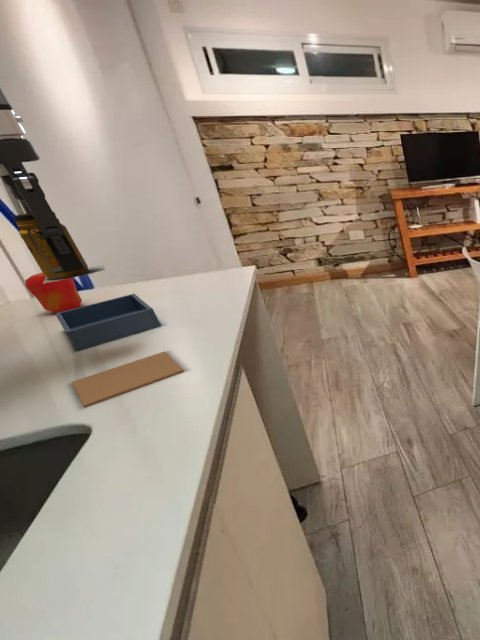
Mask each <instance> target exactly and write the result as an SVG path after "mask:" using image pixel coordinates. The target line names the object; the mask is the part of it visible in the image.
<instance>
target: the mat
mask: <svg viewBox="0 0 480 640" xmlns="http://www.w3.org/2000/svg"><path fill="white" fill-rule="evenodd" d="M184 372H185V370H184V369H183V367H181V365H180V364H178V363H177V361H176V360H175V359H174V358H173V357H171V356H170V355H169V354H168V352H166V351H165V350H164V351H162V352H158V353H156V354H152V355H149V356H146V357H144V358H141V359H137V360H134V361H131V362H128V363H125V364H122V365H119V366H115V367H113V368H110V369H107V370H103V371H101V372H98V373H95V374H92V375H89V376H86V377H83V378H79V379H75V380H73V381H72V382H71V383H72V385H73V387H74V390H75V391H76V394H77V395H78V398H79V399H80V402H81V404H82V405H83V407H84V408H86V407H89V406H92V405H94V404H97V403H100V402H104V401H106V400H108V399H112V398H115V397H117V396H120V395H123V394H126V393H128V392H131V391H133V390H137V389H140V388H142V387H146V386H148V385H150V384H153V383H156V382H159V381H162V380H164V379H167V378H170V377H173V376H176V375H178V374H182V373H184Z"/></svg>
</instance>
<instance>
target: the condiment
mask: <svg viewBox="0 0 480 640" xmlns="http://www.w3.org/2000/svg"><path fill="white" fill-rule="evenodd" d="M53 213H54V215H55V216H56V218H57V220H58V222H59V223H60V225H61V227H62V228H63V229H64V231H65V233H64V234H65V235H66V237H67V239H68V240H69V242H70V244H71V246H72V247H73V249H74V251H75V253H76V255H77V256H78V258H79V260H80V262H81V263H82V265H83V267H84V269H80V270H75V271H71V272H66V273H65V272H64V271H63V269H62V268H61V266H60V264H59V262H58V261H57V259H56V257H55V256H54V254H53V252H52V251H51V249H50V247H49V245H48V244H47V242H46V240H45V239H40V238H39V237H38V235H42V234H43V233H42V231H41V229H40V228H39V226H38V224H37V223H36V221H35V219H34V218H33V216H32V215H31V213H26V212H25V213H21V214H15V215H14V216H13V221H14V222H15V223H16V225H17V227H18V229H20V230H19V236H20V238H21V239H22V240H23V243H24V244H25V246H26V247H27V249H28V251H29V252H30V254H31V256H32V257H33V259H34V261H35V262H36V263H37V266H38V267H39V268H40V270H41V273H42V272H43V274H44V275H45V280H44V282H43V283H48V282H54V281H59V280H65V279H68V278H73V279H74V278H77V277H81V276H86V275H91V274H95V273H99V272H105V271H106V268H105V267H106V266H105V264H99V265H96V266H88V264H87V262H86V260H85V258H84V257H83V255H82V253H81V251H80V250H79V247H78V246H77V244H76V243H75V240H74V239H73V237H72V235H71V233H70V232H69V230H68V228H67V226H66V225H64V224H62V223H61V222H60V219H59V218H58V217H57V214H56V213H55V211H53Z"/></svg>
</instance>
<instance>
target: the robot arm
mask: <svg viewBox="0 0 480 640" xmlns="http://www.w3.org/2000/svg"><path fill="white" fill-rule="evenodd" d="M15 114H16V113H15V111H14V110H13V107H12V105H11V104H10V101H9V99H8V97H7V95H6V93H5V92H4V91H3V89H2V87H1V85H0V167H1V168H2V170H3V172H4V174H5V175H0V178H1V180H2V182H3V183H4V184H5V186H7V187H8V188H9V190H10V192H11V194H12V196H13V197H14V198H15V200H18V201H19V203H20V205H21V206H22V208H23V210H24V211H25V214H26V213H31V215H32V216H33V218H34V219H35V221H36V223H37V224H38V226H39V228H40V229H41V231H42V233H43V234H42V235H38V237H39V238H40V239H45V240H46V242H47V244H48V245H49V247H50V249H51V251H52V252H53V254H54V256H55V257H56V259H57V261H58V262H59V264H60V266H61V268H62V269H63V271H64V272H65V273H66V272H71V271H75V270H80V269H84V267H83V265H82V263H81V262H80V260H79V258H78V256H77V255H76V253H75V251H74V249H73V247H72V246H71V244H70V242H69V240H68V239H67V237H66V235H65V234H64V233H65V231H64V229H63V228H62V227H61V225H60V223H61V222H60V221H59V222H60V223H59V222H58V220H57V218H58V217H57V215H56V214H55V215H56V216H55V215H54V213H55V212H54V211H53V209H52V208H51V206H50V204H49V202H48V201H47V199H46V193H45V192H44V190H43V189H42V187H41V185H40V180H39V178H38V177H37V175H36V174H35V172H28V171H27V168H26V167H25V166H24V164H23V163H31V162H37V161H39V160H40V155H39V154H38V152H37V150H36V148H35V146H34V144H33V142H32V141H31V140H29V139H28V138H24V137H23V136H25V135H26V131H25V129H24V127H23V126H22V124H21V123H24V122H25V119H24V117H22V116H20V115H15ZM53 212H54V213H53Z"/></svg>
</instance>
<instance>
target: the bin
mask: <svg viewBox="0 0 480 640" xmlns="http://www.w3.org/2000/svg"><path fill="white" fill-rule="evenodd" d="M54 315H55V317H56V319H57V320H58V322H59V324H60V325H61V328H62V329H63V330H64V332H65V334H66V335H67V338H68V339H69V340H70V342H71V343H72V345H73V347H74V348H75V350H76V351H77V352H78V351H81V350H86V349H88V348H91V347H95V346H99V345H102V344H105V343H108V342H112V341H115V340H118V339H122V338H126V337H129V336H132V335H135V334H139V333H142V332H145V331H149V330H153V329H155V328H159V327H161V326H162V324H161V322H160V320H159V318H158V316H157V315H156V313H155V310H154V308H153V307H151V306H150V305H149V304H148V303H147V302H146V301H144V300H143V299H141V298H140V296H138V295H137V294H136V293H131V294H127V295H122V296H119V297H114V298H111V299H107V300H103V301H100V302H99V301H98V302H96V303H91V304H87V305H84V306H83V305H82V306H80V307H79V308H75V309H71V310H67V311H63V312H60V313H55V312H54Z"/></svg>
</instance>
